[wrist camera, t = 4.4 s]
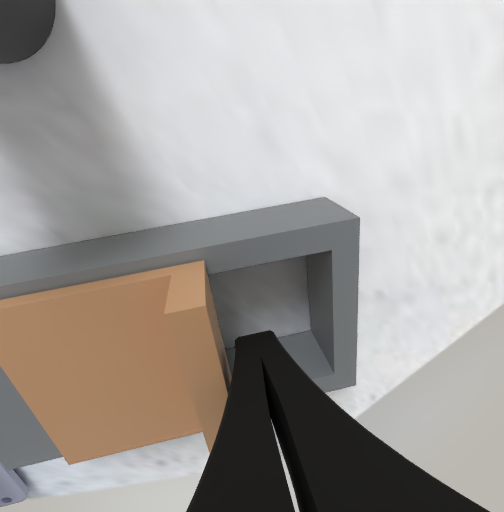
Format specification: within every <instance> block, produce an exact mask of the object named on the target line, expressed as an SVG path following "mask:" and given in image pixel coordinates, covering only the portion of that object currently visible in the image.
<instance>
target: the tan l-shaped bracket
mask: <svg viewBox="0 0 504 512" xmlns="http://www.w3.org/2000/svg"><path fill="white" fill-rule="evenodd" d="M0 366H1V368H2V369H3V371H4V372H5V373H6V375H7V376H8V378H9V379H10V381H11V382H12V384H13V385H14V386H15V388H16V389H17V391H18V392H19V394H20V395H21V396H22V398H23V399H24V401H25V402H26V404H27V405H28V407H29V408H30V409H31V411H32V412H33V414H34V415H35V417H36V418H37V420H38V421H39V422H40V424H41V425H42V427H43V428H44V430H45V431H46V432H47V434H48V435H49V437H50V438H51V440H52V441H53V443H54V444H55V445H56V447H57V448H58V450H59V451H60V453H61V454H62V456H63V457H64V458H65V460H66V461H67V463H68V464H69V465H70V464H74V463H78V462H82V461H86V460H90V459H94V458H98V457H103V456H107V455H111V454H115V453H119V452H123V451H127V450H131V449H135V448H139V447H143V446H147V445H151V444H155V443H159V442H163V441H167V440H171V439H175V438H179V437H183V436H187V435H191V434H196V433H200V432H203V434H204V437H205V440H206V443H207V446H208V449H209V452H210V453H211V450H212V447H213V444H214V441H215V439H216V436H217V433H218V429H219V426H220V423H221V420H222V416H223V412H224V409H225V405H226V401H227V397H228V393H229V389H230V384H231V379H232V378H231V373H230V369H229V365H228V361H227V356H226V352H225V348H224V343H223V339H222V335H221V331H220V326H219V322H218V318H217V313H216V309H215V305H214V301H213V296H212V292H211V288H210V283H209V279H208V275H207V271H206V266H205V262H204V260H202V261H197V262H192V263H187V264H182V265H176V266H171V267H166V268H161V269H156V270H151V271H146V272H141V273H135V274H130V275H125V276H120V277H115V278H110V279H105V280H99V281H94V282H89V283H84V284H79V285H74V286H69V287H64V288H58V289H53V290H48V291H43V292H38V293H33V294H28V295H22V296H17V297H12V298H7V299H2V300H0Z"/></svg>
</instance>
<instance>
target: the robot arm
mask: <svg viewBox="0 0 504 512" xmlns="http://www.w3.org/2000/svg"><path fill="white" fill-rule="evenodd" d="M271 420H272V422H271ZM272 423H273V426H274V429H275V432H276V435H277V438H278V441H279V444H280V447H281V450H282V453H283V456H284V459H285V462H286V465H287V468H288V471H289V474H290V478H291V481H292V484H293V488H294V491H295V495H296V499H297V503H298V507H299V511H300V512H489V511H488V510H486V509H485V508H483V507H481V506H479V505H478V504H476V503H474V502H473V501H471V500H470V499H468V498H466V497H465V496H463V495H461V494H460V493H458V492H456V491H455V490H453V489H452V488H450V487H449V486H447V485H445V484H444V483H442V482H440V481H439V480H437V479H436V478H434V477H432V476H431V475H430V474H428V473H427V472H425V471H424V470H422V469H421V468H419V467H418V466H416V465H415V464H413V463H412V462H410V461H409V460H407V459H406V458H405V457H403V456H402V455H401V454H399V453H398V452H396V451H395V450H394V449H392V448H391V447H390V446H388V445H387V444H386V443H384V442H383V441H381V440H380V439H379V438H377V437H376V436H375V435H373V434H372V433H371V432H369V431H368V430H367V429H366V428H364V427H363V426H362V425H361V424H359V423H358V422H357V421H356V420H355V419H353V418H352V417H351V416H350V415H349V414H347V413H346V412H345V411H344V410H343V409H342V408H341V407H339V406H338V405H337V404H336V403H335V402H334V401H333V400H332V399H331V398H330V397H329V396H327V395H326V394H325V393H324V392H323V391H322V390H321V389H320V388H319V387H318V386H317V385H316V384H315V383H314V382H313V381H312V380H311V378H310V377H309V376H308V375H307V374H306V373H305V372H304V371H303V370H302V369H301V368H300V366H299V365H298V364H297V363H296V362H295V361H294V360H293V358H292V357H291V356H290V355H289V353H288V352H287V351H286V350H285V348H284V347H283V346H282V344H281V343H280V342H279V340H278V339H277V337H276V336H275V334H274V332H272V331H271V330H269V331H264V332H260V333H255V334H251V335H246V336H242V337H238V338H237V339H236V340H235V360H234V368H233V373H232V379H231V384H230V389H229V393H228V397H227V401H226V405H225V409H224V412H223V416H222V420H221V423H220V426H219V429H218V433H217V436H216V439H215V441H214V444H213V447H212V450H211V453H210V456H209V458H208V461H207V463H206V466H205V469H204V471H203V474H202V476H201V479H200V481H199V484H198V486H197V489H196V491H195V493H194V496H193V498H192V500H191V502H190V505H189V507H188V509H187V511H186V512H295V510H294V506H293V502H292V499H291V495H290V491H289V487H288V484H287V480H286V476H285V472H284V469H283V465H282V461H281V457H280V453H279V449H278V446H277V442H276V438H275V434H274V430H273V426H272ZM28 493H29V488H28V487H27V486H26V484H25V483H24V482H23V481H22V480H21V478H20V477H19V476H18V475H17V474H16V473H15V471H14V470H13V469H11V470H7V469H6V468H5V467H4V466H3V465H2V464H1V462H0V507H2V506H6V505H10V504H14V503H18V502H21V501H23V500H25V499H26V497H27V495H28Z"/></svg>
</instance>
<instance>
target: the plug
mask: <svg viewBox="0 0 504 512" xmlns="http://www.w3.org/2000/svg"><path fill="white" fill-rule="evenodd" d="M54 17H55V0H0V64H4V63H14V62H19V61H21V60H24V59H27V58H28V57H30V56H32V55H33V54H35V53H36V52H37V51H38V50H39V49H40V48H41V47H42V46H43V45H44V43H45V42H46V40H47V38H48V37H49V35H50V32H51V29H52V27H53V22H54Z"/></svg>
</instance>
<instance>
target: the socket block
mask: <svg viewBox="0 0 504 512" xmlns="http://www.w3.org/2000/svg"><path fill="white" fill-rule="evenodd" d="M359 233H360V217H358V216H357V215H355V214H353V213H351V212H350V211H348V210H346V209H345V208H343V207H341V206H340V205H338V204H336V203H334V202H333V201H331V200H329V199H328V198H326V197H323V198H317V199H312V200H306V201H301V202H295V203H290V204H284V205H279V206H273V207H268V208H262V209H257V210H251V211H246V212H240V213H235V214H230V215H224V216H219V217H213V218H208V219H202V220H197V221H191V222H186V223H180V224H175V225H169V226H164V227H158V228H153V229H147V230H142V231H136V232H131V233H125V234H120V235H114V236H109V237H103V238H98V239H92V240H87V241H81V242H76V243H70V244H65V245H59V246H54V247H48V248H43V249H38V250H32V251H27V252H21V253H16V254H10V255H5V256H0V300H2V299H7V298H12V297H17V296H22V295H28V294H33V293H38V292H43V291H48V290H53V289H58V288H64V287H69V286H74V285H79V284H84V283H89V282H94V281H99V280H105V279H110V278H115V277H120V276H125V275H130V274H135V273H141V272H146V271H151V270H156V269H161V268H166V267H171V266H176V265H182V264H187V263H192V262H197V261H202V260H204V262H205V266H206V271H207V275H209V274H214V273H219V272H224V271H229V270H234V269H239V268H244V267H249V266H254V265H259V264H264V263H269V262H274V261H279V260H284V259H289V258H294V257H300V256H305V255H306V262H307V277H308V293H309V309H310V325H311V330H310V331H306V332H301V333H297V334H293V335H288V336H284V337H279V338H277V339H278V340H279V342H280V343H281V344H282V346H283V347H284V348H285V350H286V351H287V352H288V353H289V355H290V356H291V357H292V358H293V360H294V361H295V362H296V363H297V364H298V365H299V366H300V368H301V369H302V370H303V371H304V372H305V373H306V374H307V375H308V376H309V377H310V378H311V380H312V381H313V382H314V383H315V384H316V385H317V386H318V387H319V388H320V389H321V390H322V391H323V392H324V393H326V392H330V391H334V390H338V389H342V388H346V387H351V386H355V385H356V359H357V317H358V275H359ZM225 352H226V356H227V361H228V365H229V369H230V373H231V378H232V373H233V368H234V360H235V347H234V348H230V349H225ZM60 457H63V456H62V454H61V453H60V451H59V450H58V448H57V447H56V445H55V444H54V443H53V441H52V440H51V438H50V437H49V435H48V434H47V432H46V431H45V430H44V428H43V427H42V425H41V424H40V422H39V421H38V420H37V418H36V417H35V415H34V414H33V412H32V411H31V409H30V408H29V407H28V405H27V404H26V402H25V401H24V399H23V398H22V396H21V395H20V394H19V392H18V391H17V389H16V388H15V386H14V385H13V384H12V382H11V381H10V379H9V378H8V376H7V375H6V373H5V372H4V371H3V369H2V368H1V366H0V462H1V464H2V465H3V466H4V467H5V468H6V469H7V470H11V469H15V468H19V467H23V466H27V465H32V464H36V463H40V462H44V461H48V460H52V459H56V458H60Z"/></svg>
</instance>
